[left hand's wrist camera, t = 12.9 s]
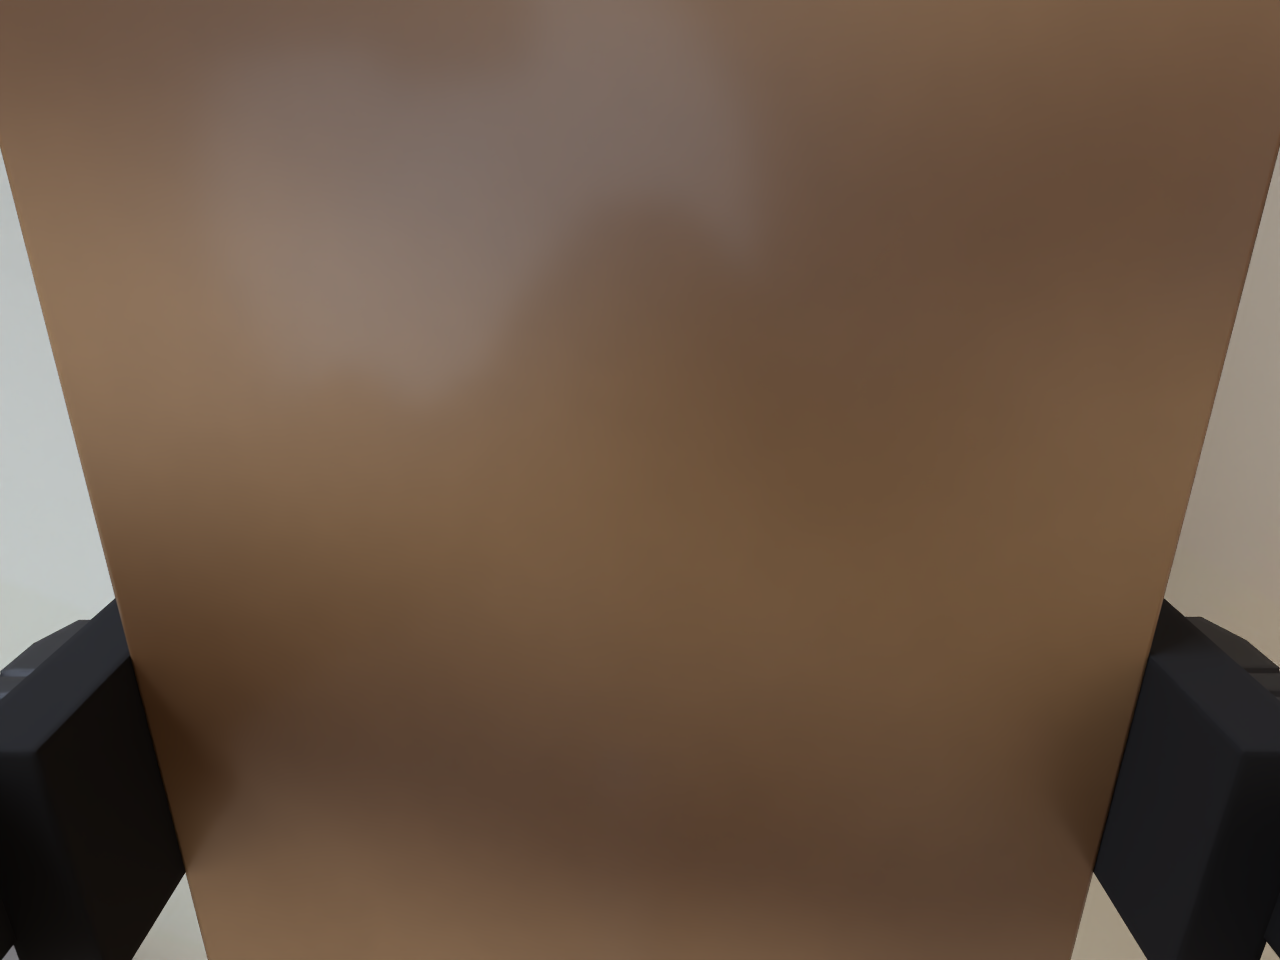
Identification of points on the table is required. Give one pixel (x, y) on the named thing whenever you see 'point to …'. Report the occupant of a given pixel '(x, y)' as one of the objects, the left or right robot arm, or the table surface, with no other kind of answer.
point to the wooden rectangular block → (639, 446)
